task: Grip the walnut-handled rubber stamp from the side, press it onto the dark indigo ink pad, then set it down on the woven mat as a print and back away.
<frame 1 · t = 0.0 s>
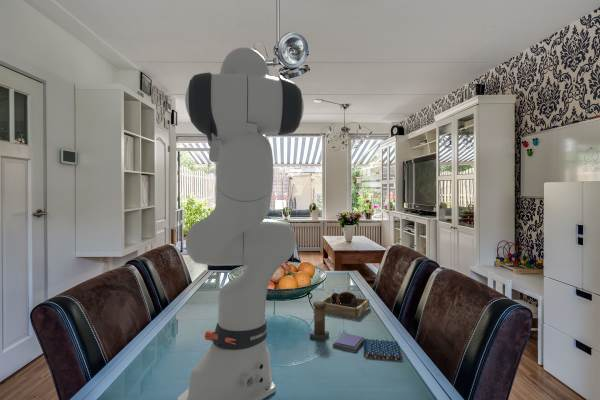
hand: (239, 175, 118), 52 cm above the table, tool tilted 20°, fingers open, 8 cm apart
woven mat: (381, 353, 98), on the table
wooden tray: (344, 309, 135), on the table
stamp: (319, 337, 108), on the table
pottery mug: (344, 310, 135), resting in wooden tray
ink pad: (349, 343, 103), on the table
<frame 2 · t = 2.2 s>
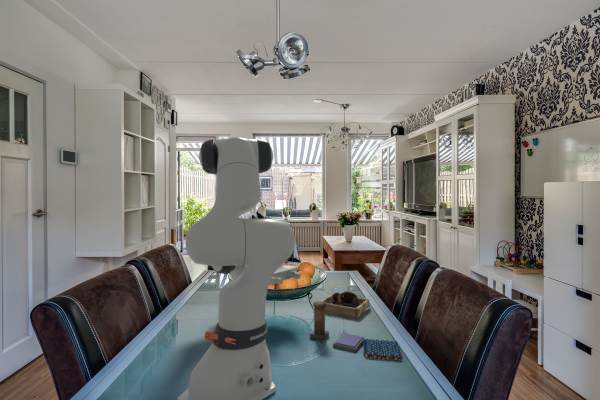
hand: (290, 278, 116), 17 cm above the table, tool horizontal, fingers open, 8 cm apart
nothing on the table moved.
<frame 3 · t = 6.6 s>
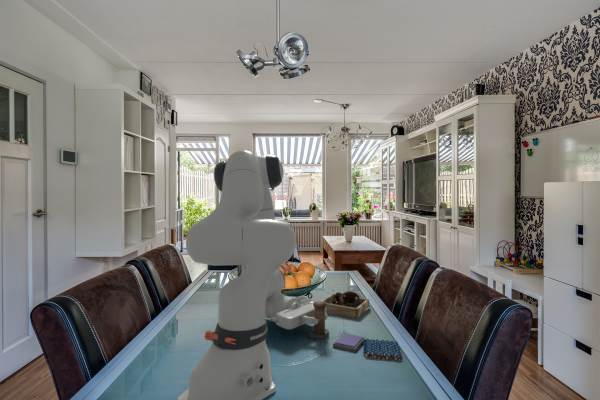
hand: (321, 319, 107), 6 cm above the table, tool horizontal, fingers closed on stamp, 3 cm apart
stamp: (319, 337, 108), on the table, touching gripper
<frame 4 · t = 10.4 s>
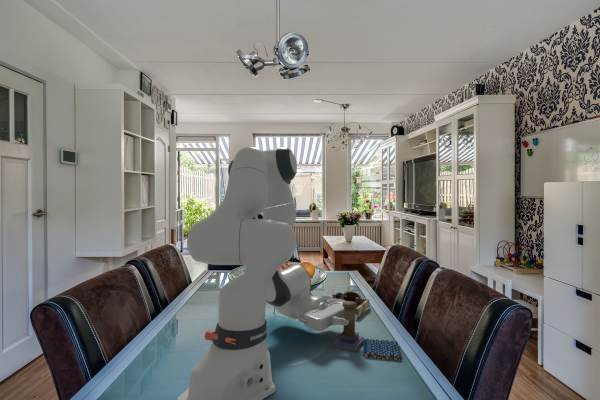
hand: (351, 320, 103), 7 cm above the table, tool horizontal, fingers closed on stamp, 3 cm apart
stamp: (349, 338, 103), point 1 cm above the table, touching gripper
when the fingers open (8 cm above the table, at t = 14.7 s): stamp stays where it is, resting on woven mat.
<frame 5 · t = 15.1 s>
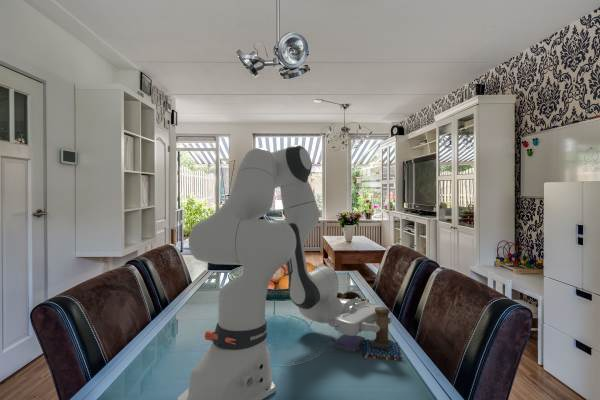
hand: (385, 324, 98), 8 cm above the table, tool horizontal, fingers open, 7 cm apart
woven mat: (381, 354, 98), on the table, touching stamp
stamp: (381, 346, 98), point 1 cm above the table, touching woven mat
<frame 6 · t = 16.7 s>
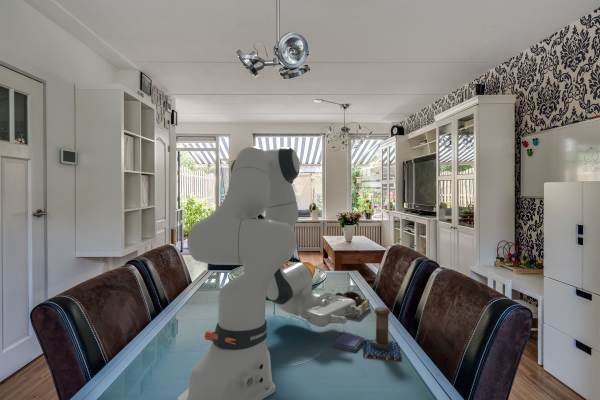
hand: (353, 316, 104), 8 cm above the table, tool horizontal, fingers open, 8 cm apart
woven mat: (381, 354, 98), on the table
stamp: (381, 346, 98), point 1 cm above the table
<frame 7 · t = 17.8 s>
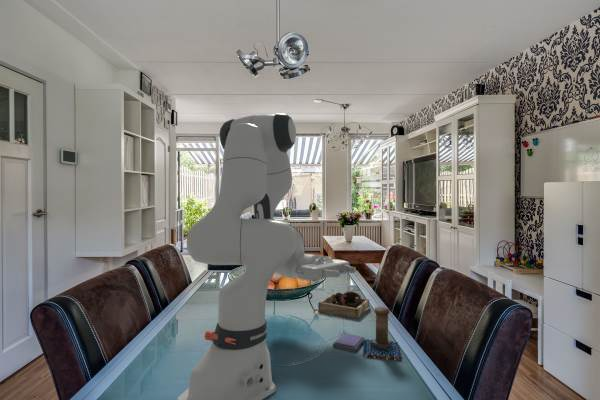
hand: (347, 272, 105), 21 cm above the table, tool horizontal, fingers open, 8 cm apart
woven mat: (381, 354, 98), on the table, touching stamp
stamp: (381, 346, 98), point 1 cm above the table, touching woven mat
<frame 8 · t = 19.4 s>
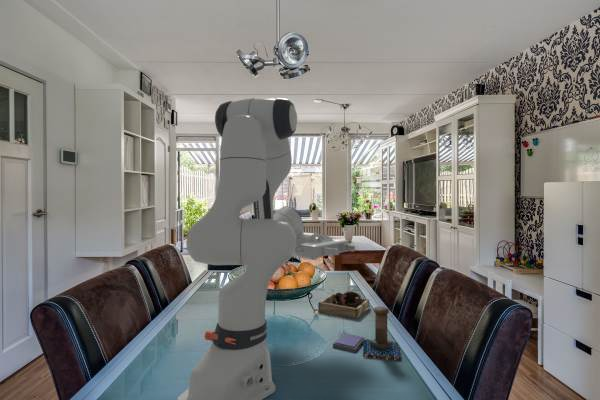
hand: (346, 250, 106), 28 cm above the table, tool horizontal, fingers open, 8 cm apart
at the end: stamp 0.2 cm from the woven mat (horizontally); stamp tilted 2°; the gripper is holding nothing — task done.
